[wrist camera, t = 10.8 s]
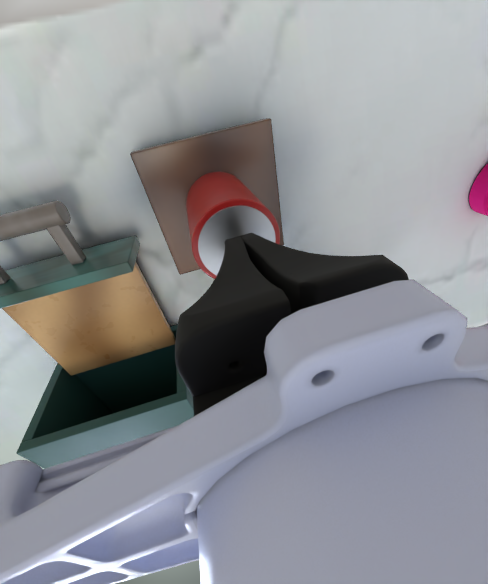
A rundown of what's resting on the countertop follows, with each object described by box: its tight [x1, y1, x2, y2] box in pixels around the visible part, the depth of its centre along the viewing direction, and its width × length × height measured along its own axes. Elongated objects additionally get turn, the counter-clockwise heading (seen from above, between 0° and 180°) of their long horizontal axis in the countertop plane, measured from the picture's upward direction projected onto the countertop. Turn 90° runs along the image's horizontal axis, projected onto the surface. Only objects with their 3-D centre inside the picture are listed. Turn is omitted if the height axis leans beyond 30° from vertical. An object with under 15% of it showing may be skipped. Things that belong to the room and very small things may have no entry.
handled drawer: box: [0, 201, 176, 375], centre depth 20 cm, size 13×16×4 cm
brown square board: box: [130, 118, 284, 274], centre depth 19 cm, size 9×9×2 cm
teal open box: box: [17, 324, 194, 469], centre depth 26 cm, size 13×12×9 cm
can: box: [186, 172, 280, 279], centre depth 16 cm, size 5×5×7 cm
